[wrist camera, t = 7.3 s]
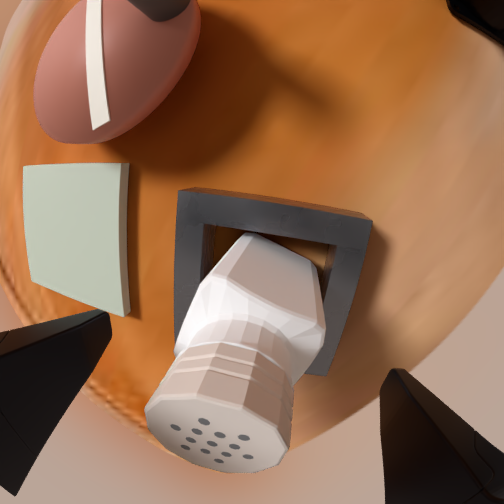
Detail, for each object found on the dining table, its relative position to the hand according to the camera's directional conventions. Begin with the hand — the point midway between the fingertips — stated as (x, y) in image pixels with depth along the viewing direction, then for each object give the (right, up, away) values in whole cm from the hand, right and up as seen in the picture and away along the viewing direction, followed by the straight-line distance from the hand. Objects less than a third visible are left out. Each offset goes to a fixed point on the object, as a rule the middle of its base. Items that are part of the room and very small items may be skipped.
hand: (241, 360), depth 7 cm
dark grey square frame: (+1, +2, +6) cm, 7 cm away
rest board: (-12, +4, +8) cm, 15 cm away
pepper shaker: (+1, +2, +6) cm, 7 cm away
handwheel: (-7, +13, +2) cm, 15 cm away
